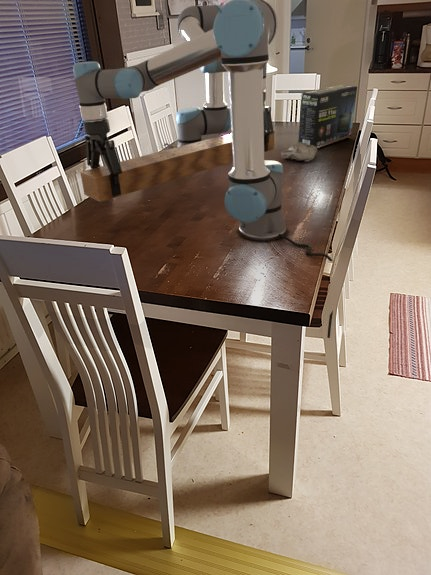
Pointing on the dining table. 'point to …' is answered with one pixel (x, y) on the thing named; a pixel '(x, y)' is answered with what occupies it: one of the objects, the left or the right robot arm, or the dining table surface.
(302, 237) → the dining table surface
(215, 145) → the wooden beam
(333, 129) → the router box
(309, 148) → the fossil
